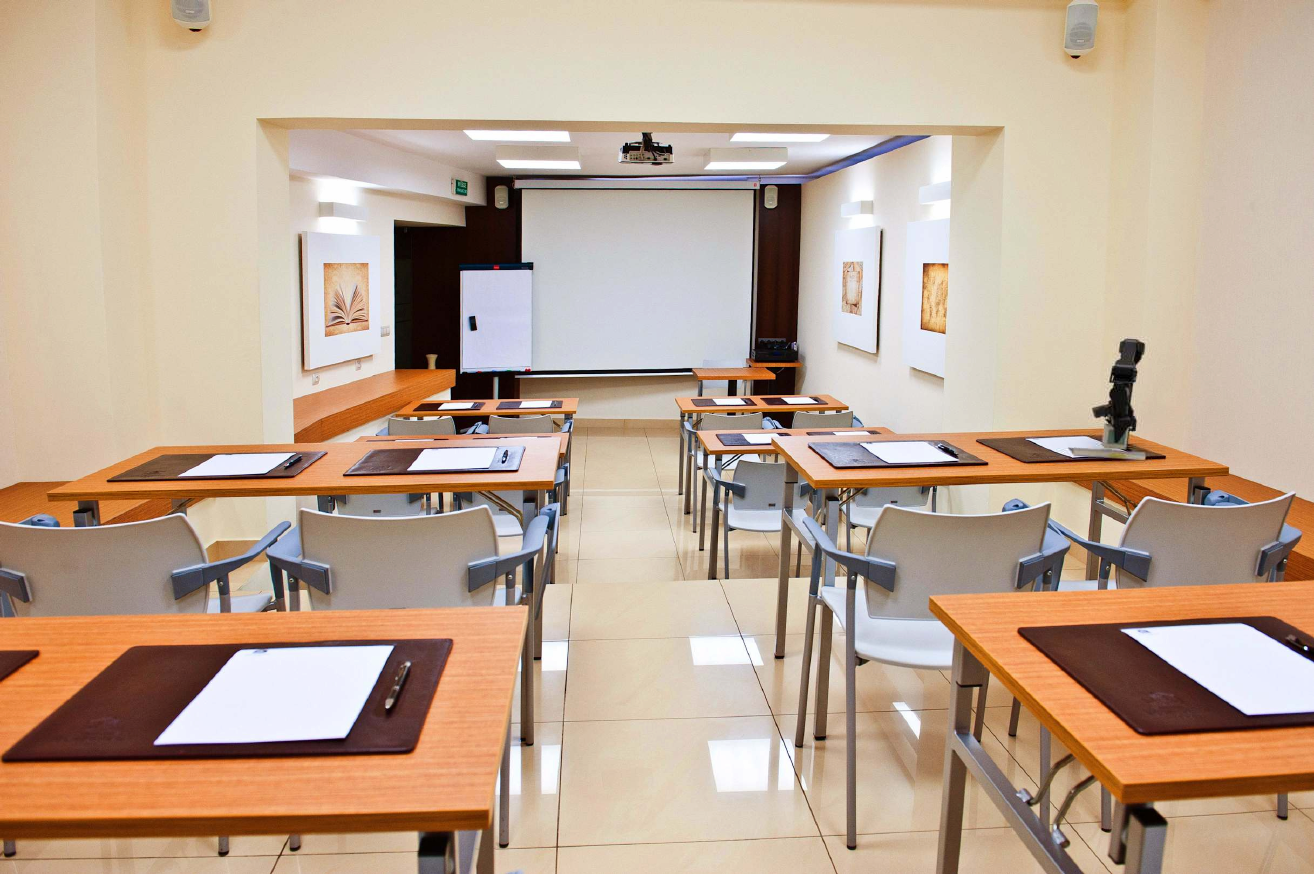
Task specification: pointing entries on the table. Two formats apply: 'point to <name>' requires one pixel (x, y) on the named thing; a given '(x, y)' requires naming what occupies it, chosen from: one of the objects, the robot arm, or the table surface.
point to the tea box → (1109, 438)
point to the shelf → (1108, 453)
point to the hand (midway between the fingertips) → (1114, 441)
